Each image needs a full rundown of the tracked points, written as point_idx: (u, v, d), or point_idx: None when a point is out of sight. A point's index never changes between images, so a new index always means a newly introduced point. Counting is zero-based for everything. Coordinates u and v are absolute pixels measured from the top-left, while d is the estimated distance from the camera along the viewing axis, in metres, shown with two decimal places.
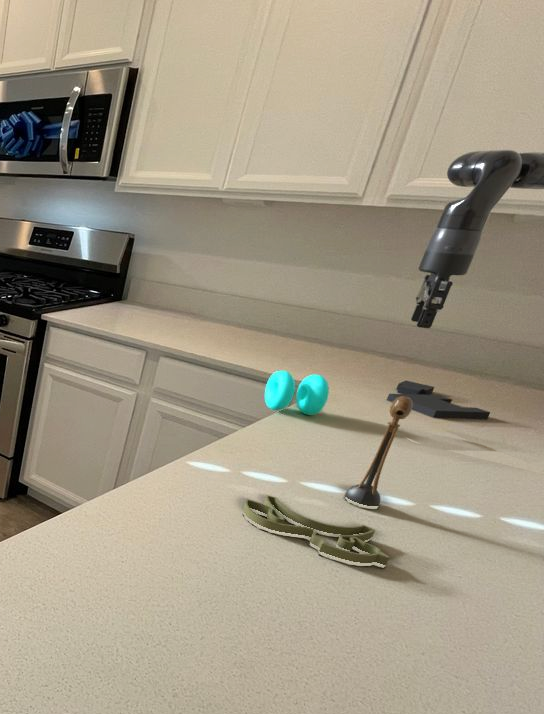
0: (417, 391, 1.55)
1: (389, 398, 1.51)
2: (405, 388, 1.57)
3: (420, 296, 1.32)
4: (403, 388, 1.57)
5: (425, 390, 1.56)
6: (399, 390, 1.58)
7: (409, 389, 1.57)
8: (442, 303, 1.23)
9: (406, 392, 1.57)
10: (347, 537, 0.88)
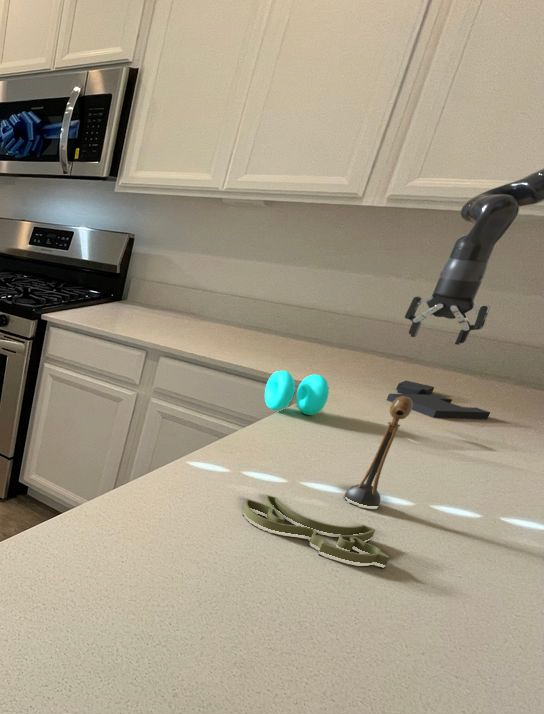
0: (417, 391, 1.55)
1: (389, 398, 1.51)
2: (405, 388, 1.57)
3: (426, 316, 1.52)
4: (403, 388, 1.57)
5: (425, 390, 1.56)
6: (399, 390, 1.58)
7: (409, 389, 1.57)
8: (483, 323, 1.45)
9: (406, 392, 1.57)
10: (347, 537, 0.88)
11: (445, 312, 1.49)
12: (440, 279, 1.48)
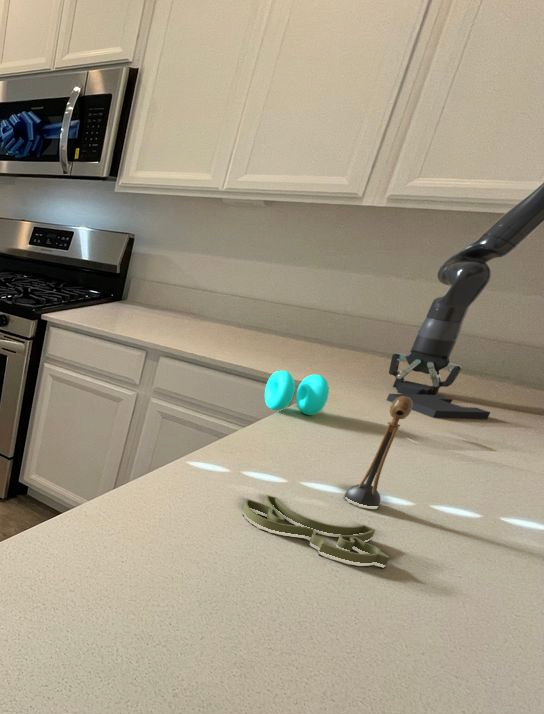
0: (417, 391, 1.55)
1: (389, 398, 1.51)
2: (405, 388, 1.57)
3: (408, 372, 1.60)
4: (403, 388, 1.58)
5: (425, 390, 1.56)
6: (399, 390, 1.58)
7: (409, 389, 1.57)
8: (453, 381, 1.54)
9: (406, 392, 1.57)
10: (347, 537, 0.88)
11: (422, 367, 1.57)
12: (418, 336, 1.57)
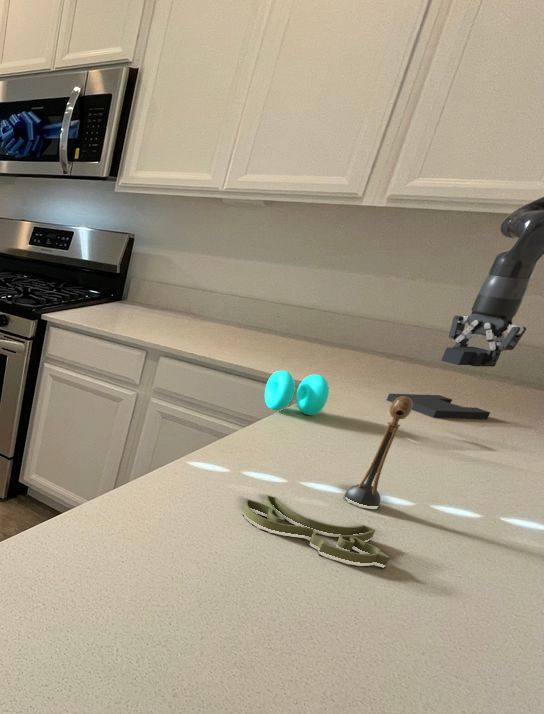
0: (462, 352, 1.45)
1: (389, 398, 1.51)
2: (451, 349, 1.47)
3: (467, 335, 1.48)
4: (450, 349, 1.47)
5: (477, 353, 1.44)
6: (446, 352, 1.48)
7: (455, 350, 1.46)
8: (514, 345, 1.40)
9: (452, 354, 1.47)
10: (347, 537, 0.88)
11: (481, 329, 1.45)
12: (477, 295, 1.45)
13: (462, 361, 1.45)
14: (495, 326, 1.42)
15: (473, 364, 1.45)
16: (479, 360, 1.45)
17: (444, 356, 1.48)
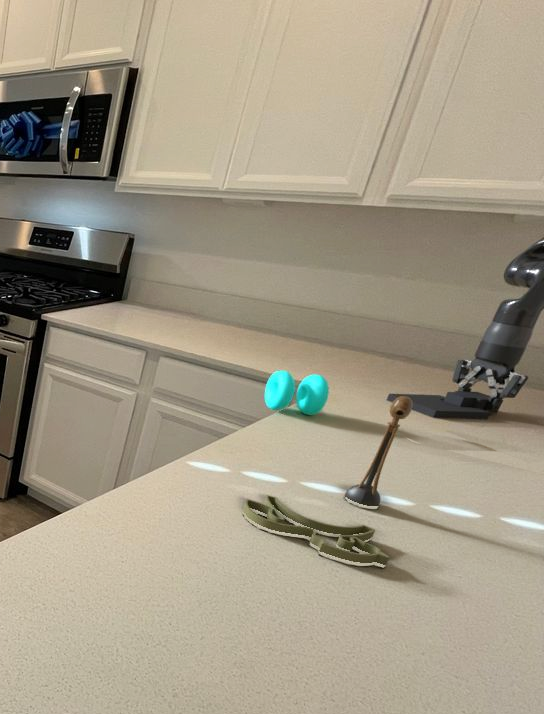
0: (462, 398, 1.44)
1: (389, 398, 1.51)
2: (452, 394, 1.46)
3: (469, 380, 1.47)
4: (450, 394, 1.47)
5: (478, 399, 1.44)
6: (446, 396, 1.48)
7: (455, 395, 1.46)
8: (516, 393, 1.39)
9: (452, 398, 1.46)
10: (347, 537, 0.88)
11: (484, 375, 1.44)
12: (481, 341, 1.44)
13: (462, 406, 1.45)
14: (497, 373, 1.41)
15: None
16: (480, 406, 1.44)
17: (445, 400, 1.48)
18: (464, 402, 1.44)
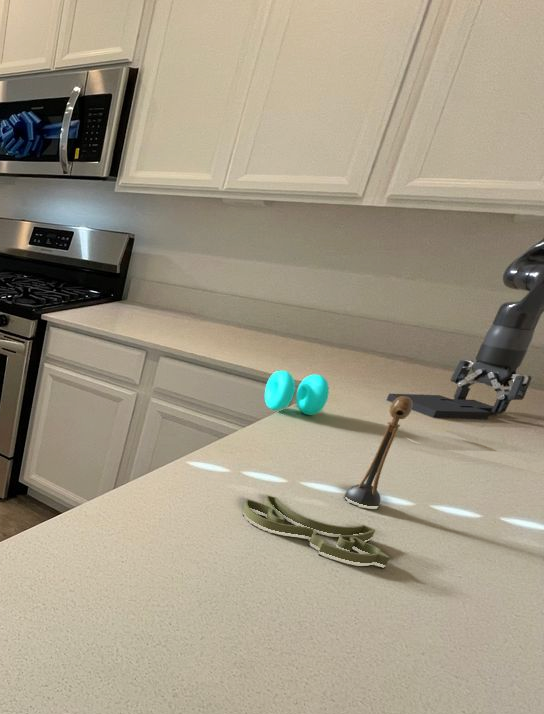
0: None
1: (389, 398, 1.51)
2: (448, 402, 1.47)
3: (469, 381, 1.47)
4: None
5: None
6: None
7: None
8: (523, 394, 1.38)
9: None
10: (347, 537, 0.88)
11: (485, 378, 1.44)
12: None
13: None
14: (499, 376, 1.41)
15: None
16: None
17: None
18: None
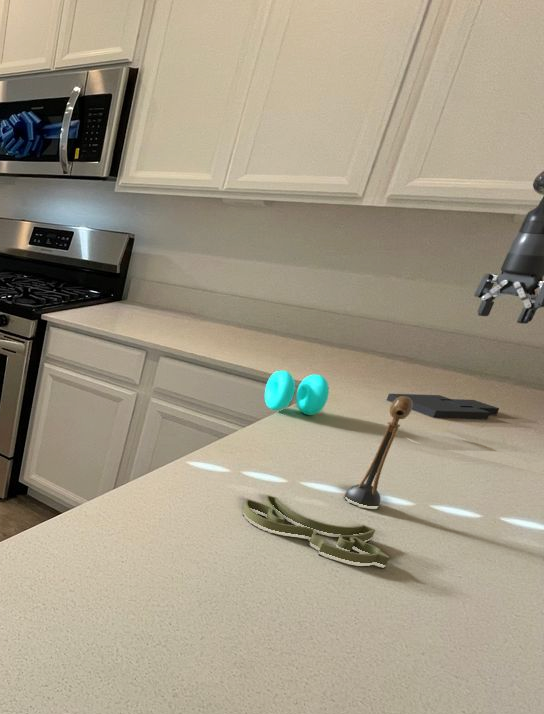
0: None
1: (389, 398, 1.51)
2: (448, 402, 1.47)
3: (493, 294, 1.46)
4: None
5: None
6: None
7: None
8: None
9: None
10: (347, 537, 0.88)
11: (511, 289, 1.43)
12: (507, 254, 1.43)
13: None
14: (525, 285, 1.40)
15: None
16: None
17: None
18: None
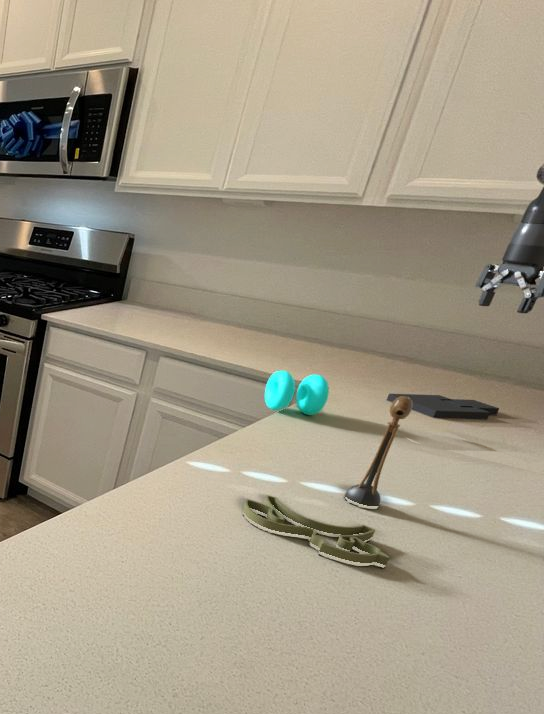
0: None
1: (389, 398, 1.51)
2: (448, 402, 1.47)
3: (494, 284, 1.47)
4: None
5: None
6: None
7: None
8: None
9: None
10: (347, 537, 0.88)
11: (511, 279, 1.44)
12: None
13: None
14: (525, 275, 1.41)
15: None
16: None
17: None
18: None
